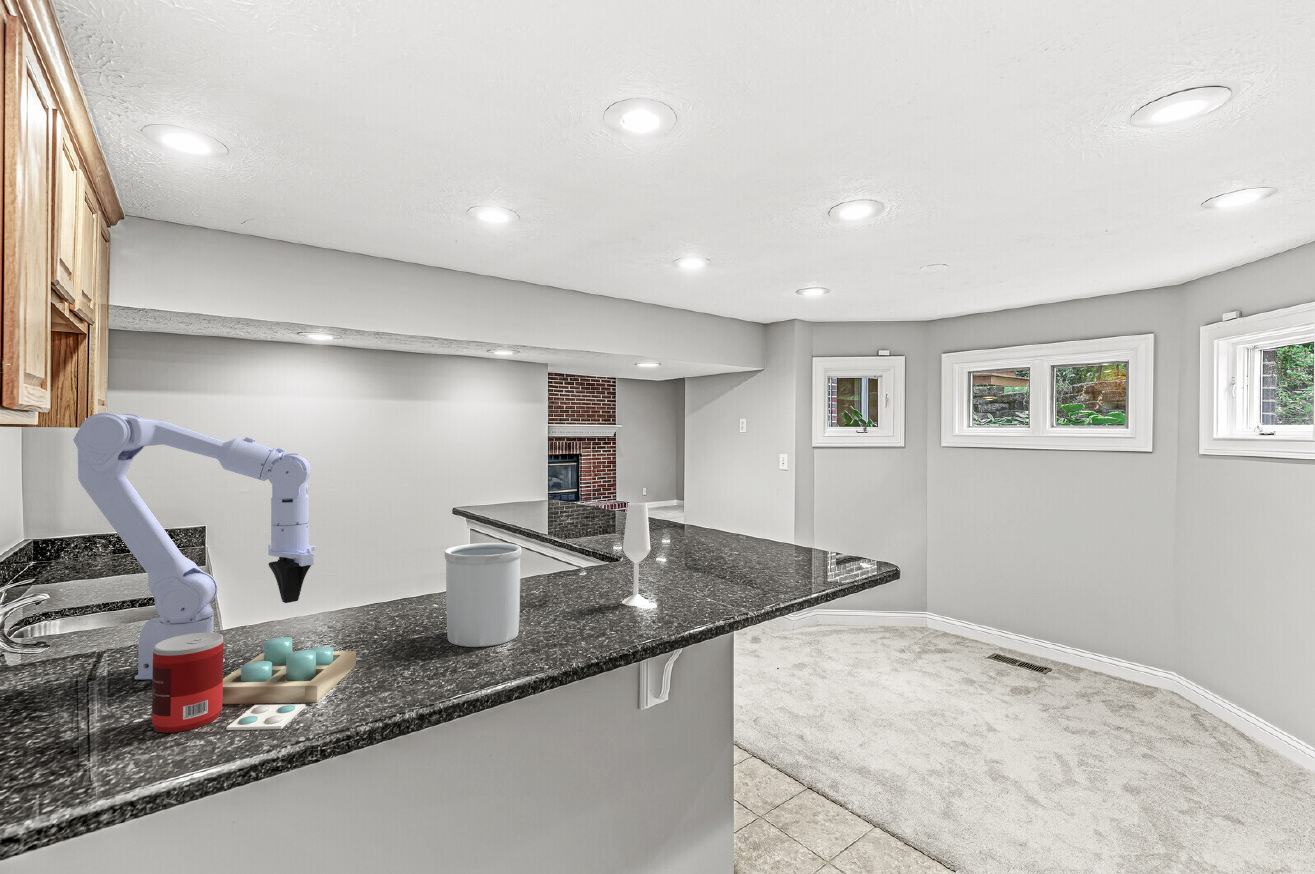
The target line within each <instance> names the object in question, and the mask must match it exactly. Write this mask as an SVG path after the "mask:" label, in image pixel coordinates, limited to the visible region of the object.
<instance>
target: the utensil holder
mask: <svg viewBox="0 0 1315 874" xmlns="http://www.w3.org/2000/svg"><path fill="white" fill-rule="evenodd" d="M522 551H523V550H522V546H520V545H518V544H515V543H514V544H513V543H507V542H506V543H505V542H477V543H467V544H462V545H456V546H452V547H449V548H447V549H445V551H444V558H445V560H446V561H445V563H446V564H445V568H446V569H445V571H446V573H445V580H446V581H445V585H446V586H445V589H446V590H445V592H446V596H445V600H446V601H445V602H446V603H445V605H446V606H445V607H446V632H447V633H446V635H447V640H448V642H449V643H451V644H452V645H456V646H461V647H469V648H479V647H481V648H483V647H490V646H497V645H500V644H501V645H502V644H505V643H508V642H510V641H512V640H515V638H517V637H518V635H519V631H520V629H519V627H520V626H519V625H520V607H521V606H520V605H521V604H520V603H521V600H520V599H521V598H520V597H521V594H520V593H521V556H522V554H523V553H522Z"/></svg>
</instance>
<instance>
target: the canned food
mask: <svg viewBox="0 0 1315 874" xmlns="http://www.w3.org/2000/svg"><path fill="white" fill-rule="evenodd" d="M224 645H225V644H224V635H223V634H220V633H217V632H213V633H193V634H186V635H181V636H176V637H172V638H169V639H166V640H163V641H161V642H159V643H157V644H156V645H155V646H154V650H153V674H152V679H151V680H152V683H151V684H152V685H151V686H152V687H151V689H152V690H151V691H152V693H151V724H152V726H153V728H154V730H155V731H156V732H160V733H164V734H165V733H167V734H168V733H169V734H170V733H171V734H172V733H179V732H180V733H181V732H182V733H183V732H186V731H191V730H195V729H198V728H200V727H203V726H206V725H208V724H210V723H212V722H214V721H215V720H217V719H218V717H220V715H221V713H222V709H223V704H222V698H223V679H224V662H223V659H224V657H225V656H224V650H225V649H224V648H225V647H224Z"/></svg>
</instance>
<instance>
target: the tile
mask: <svg viewBox="0 0 1315 874" xmlns="http://www.w3.org/2000/svg"><path fill="white" fill-rule="evenodd" d="M305 708H306V703H300V704H299V703H293V704H292V703H281V704H254V705H253V706H251V707H250V708H249V709H248V710H247V711H245V712H244V713H243V714H242V715H240V716H239V717H238V718H236V719H235V720H234V721H233V722H231V723H230V724H229V725H227V726H226V731H250V730H253V731H254V730H259V731H260V730H282V729H284V727H286V725H288V724H289V723H290V722H291V721H292V720H293V719H294V718H296V717H297V715H298V714H299V713H300V712H301V711H303V709H305Z"/></svg>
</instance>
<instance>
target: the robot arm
mask: <svg viewBox="0 0 1315 874" xmlns="http://www.w3.org/2000/svg"><path fill="white" fill-rule="evenodd" d="M73 442H74V444H75V446H76V449H77V478H78V481H79V483H80V485H81V487H82V488H83V490H85V491H86V494H88V496H89V498H91V500H92V501H93V503H94V504H95V505H96V507H98V509H99V510H100V512H101V513H102V515H103V516H104V517H105V518H106V520H107V521H108V523H109V524H110V525H111V527H112V528H113V529H114V531H115V532H116V533H117V535H118V536H119V538H120V539H121V541H122V542H123V543H124V544H125V546H126V548H128V549H129V551H130V552H131V554H132V555H133V556H134V558H135V559H136V560H137V562H138V563H139V565H140V566H141V568H143V570H144V571H145V572H146V575H147V580H148V581H147V587H148V590H149V591H150V592H151V594H152V596H153V599H154V607H155V611H156V613H157V615H159V617H154V618H151V619H149V620H147V621H146V623H145V624H144V625H143V626H142V628H141V630H140V633H139V637H138V659H137V662H138V665H137V667H138V669H137V670H138V672H137V675H135V676H134V680H152V674H153V650H154V646H155V645H156V644H157V643H159V642H161V641H163V640H166V639H169V638H172V637H176V636H181V635H186V634H193V633H214V624H215V623H214V621H215V620H214V616H215V615H214V613H215V610H214V609H213V608H212V606H211V602H212V601H213V600H214V599H215V597H216V595H217V594H218V583H217V581H216V579H215V578H214V577H213V576H212V575H211V574H209V573H208V572H205V571H203V570H202V569H201V568H200V567H198V565H197V564H196V562H195V561H193V560H191V559H190V558H188V557H186V556H184V554H182V552H181V551H180V549H179V548H178V546H177V545H176V544H175V542H174V541H173V540H172V539H171V537H170V535H169V534H168V533H167V532H166V530H165V529H164V527H163V526H162V524H161V523H160V522H159V521H158V519H157V518H156V516H155V515H154V514H153V512H152V511H151V509H150V508H149V506H148V505H147V503H146V502H145V501H144V500H143V498H142V497H141V496H140V494H139V493H138V492H137V490H136V489H135V487H134V486H133V484H132V483H131V482H130V480H129V479H128V478H127V473H128V471H129V470H130V466H131V465H132V462H133V460H134V458H135V457H136V456H137V455H138V454H139V453H140V452H141V451H142V450H143V449H144V448H145V447H151V446H162V445H164V446H168V447H171V448H175V449H178V450H179V449H180V450H183V451H187V452H190V453H194V454H197V455H201V456H205V457H209V458H211V459H216V460H218V462H219V464H220V465H221V467H222V469H223V470H225V471H228V472H232V473H235V474H238V475H242V476H246V477H248V478H252V479H256V480H260V481H263V482H266V481H267V480H268V481H269V483H270V484H271V486H272V487H271V489H272V490H271V492H272V493H271V496H272V497H271V498H270V501H271V502H270V503H271V504H270V508H271V509H270V511H271V512H270V519H271V521H270V544H267V545H268V547H267V548H268V553H267V554H268V556H270V557H277V558H278V559H277V561H275V560H274V561H270V562H268V567H269V568H270V570H271V571H272V573H273V575H274V578H275V580H276V583H277V587H278V591H279V595H280V599H281V601H282V602H283V603H284V604H289V603H293V602H294V603H295V602H298V601H299V599H300V595H301V591H302V587H303V583H304V581H305V578H306V575H307V573H308V571H309V570H310V568H311V567H312V566H313V565H314V563H315V556H314V555H315V553H314V552H313V551H316V550H317V546H316V545H313V544H310V496H309V489H310V487H309V482H307V481H308V479H309V478H310V476H311V473H312V467H311V464H310V462H309V461H308V459H306V458H305V457H303V456H302V455H299V453H296V452H295V453H294V452H292V453H286V454H285V451H286V449H285V448H282V447H277V449H276V448H273V447H271V446H270V447H269V446H267V445H263V444H261V443H258V442H256V438H253V437H251V436H250V437H249V436H245V437H244V438H241V437H236V438H233V439H231V440H228V441H224V440H222V439H218V438H216V437H212V436H210V435H207V434H204V433H201V432H199V431H195V430H192V429H190V428H187V427H184V426H181V425H178V424H175V423H173V422H169V421H166V420H160V419H156V418H150V417H141V416H139V415H137V414H132V413H123V414H117V413H113V412H98V413H95V414H92V415H90V416H88V417H87V418H85V419H84V420H83V421H82V423H81V424H80V427H79V428H78V430H77V432H76V434H75V435H74V438H73ZM225 660H226V659H225V658H223V663H224V662H225Z"/></svg>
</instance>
